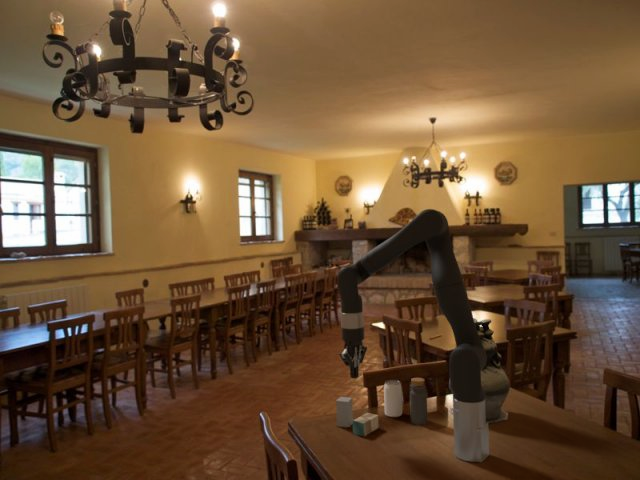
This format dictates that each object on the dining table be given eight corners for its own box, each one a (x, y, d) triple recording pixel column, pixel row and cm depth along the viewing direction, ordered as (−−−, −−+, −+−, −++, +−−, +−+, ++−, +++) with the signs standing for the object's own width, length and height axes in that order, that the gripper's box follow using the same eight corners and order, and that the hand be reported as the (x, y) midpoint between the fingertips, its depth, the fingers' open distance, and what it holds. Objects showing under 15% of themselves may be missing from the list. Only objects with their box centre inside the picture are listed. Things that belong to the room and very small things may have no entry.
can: (397, 418, 179) (396, 385, 179) (381, 415, 183) (380, 383, 183) (405, 413, 184) (404, 381, 184) (390, 410, 188) (389, 378, 188)
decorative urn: (439, 412, 186) (433, 319, 186) (483, 401, 194) (478, 312, 194) (477, 431, 166) (470, 327, 166) (525, 418, 175) (519, 319, 174)
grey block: (353, 423, 176) (352, 397, 176) (348, 427, 172) (347, 401, 172) (341, 421, 178) (340, 396, 178) (336, 426, 174) (336, 400, 174)
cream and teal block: (363, 436, 165) (378, 427, 172) (363, 423, 164) (378, 415, 171) (352, 433, 167) (367, 425, 174) (352, 420, 167) (367, 412, 174)
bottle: (428, 424, 173) (427, 381, 173) (412, 425, 173) (410, 382, 173) (425, 418, 179) (424, 376, 179) (409, 418, 179) (408, 377, 179)
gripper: (350, 330, 157) (352, 384, 157) (373, 323, 167) (375, 374, 168) (331, 328, 162) (333, 380, 162) (354, 321, 172) (356, 371, 172)
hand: (354, 377), depth 165 cm, fingers closed
